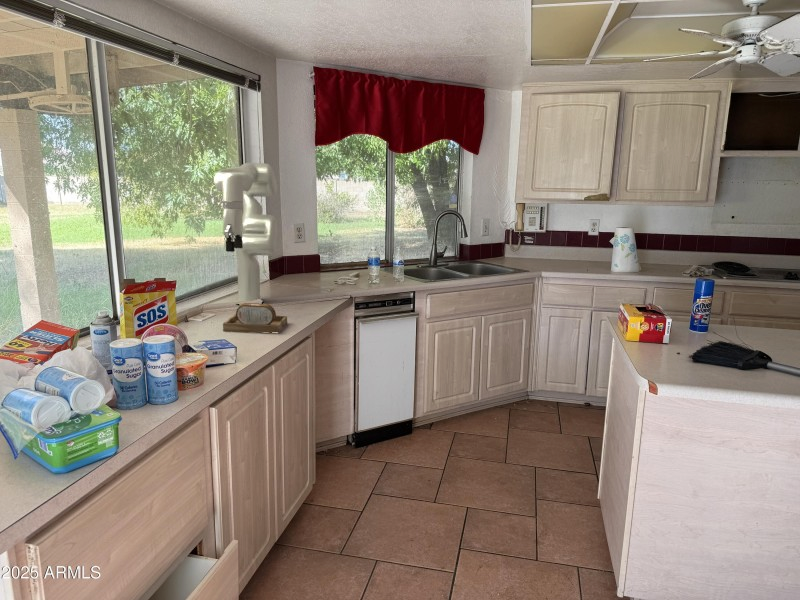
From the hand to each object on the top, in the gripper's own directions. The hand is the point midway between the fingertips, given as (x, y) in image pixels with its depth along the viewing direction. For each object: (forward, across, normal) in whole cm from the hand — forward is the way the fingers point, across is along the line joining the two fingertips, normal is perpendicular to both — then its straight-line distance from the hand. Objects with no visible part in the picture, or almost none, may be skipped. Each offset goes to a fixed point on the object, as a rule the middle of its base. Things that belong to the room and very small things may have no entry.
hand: (234, 249), depth 212 cm
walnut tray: (+28, +10, +11) cm, 32 cm away
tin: (+28, +10, +11) cm, 31 cm away
